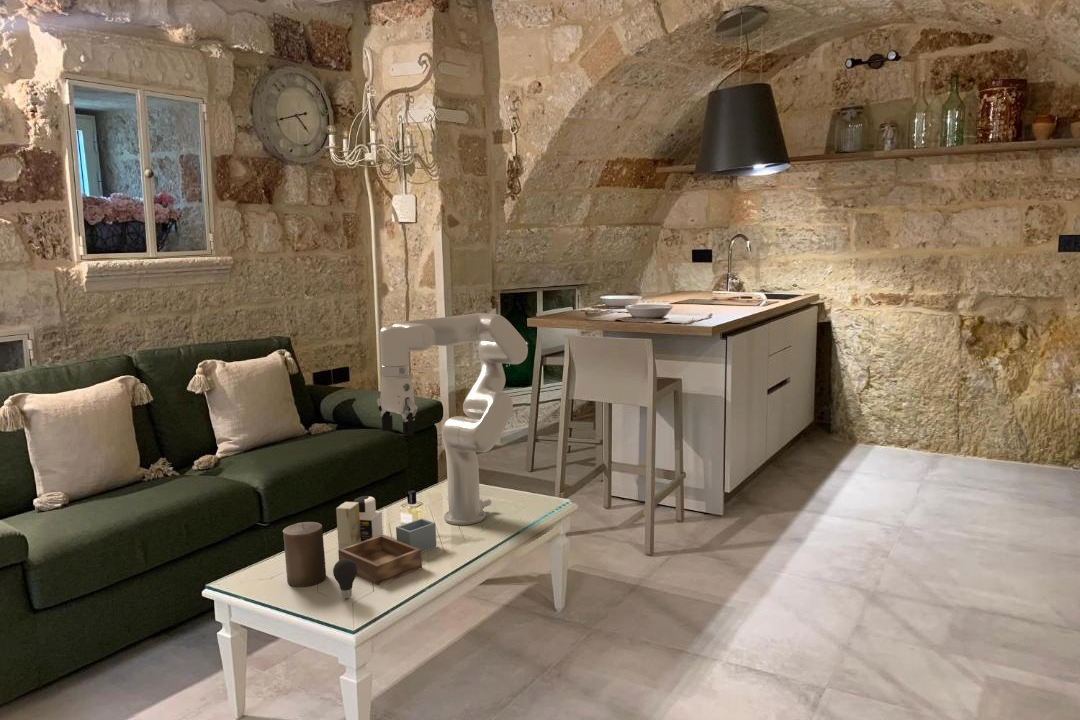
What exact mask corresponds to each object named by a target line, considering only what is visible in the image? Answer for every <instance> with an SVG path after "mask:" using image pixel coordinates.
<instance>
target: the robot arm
mask: <svg viewBox="0 0 1080 720" xmlns="http://www.w3.org/2000/svg"><path fill="white" fill-rule="evenodd" d="M379 332H380V333H379V338H380V339H379V340H380V341H379V342H380V343H379V344H380V362H381V363H380V366H381V367H380V368H381V369H380V370H381V371H380V372H381V379H380V397H379V398H377V399H376V403H377V406H378V410H379V412H380V413H379V416H380V417H381V430H382V431H383V432H386V431H391V430H393V428H394V427H393V415H392V413H393V414H398V415H400V416H401V417H402V419H403V421H402V435H403V437H408V436H409V437H410V436H413V435H414V434H415V432H414V431H415V428H414V421H415V419H416V416H417V412H418V408H419V407H418V406H417V405H416V403H415V395H414V394H415V393H414V386H413V381H412V377H411V376H410V356H409V352H413V351H415V352H416V351H418V352H424V351H427V350H429V349H431V348H432V347H433V346H439V347H441V346H443V347H447V346H449V347H450V346H453V347H454V346H457V345H463V344H469V343H471V344H472V343H477V342H479V344H478V356H479V360H480V373H479V375H478V377H477V379H476V380H475V382H474V384H473V386H472V387H471V388H470V390H469V392H468V394H467V395H466V397H465V398H464V401H463V403H462V409H463V413H464V414H465V415H466V416H461V415H458V416H457V415H455V416H452V417H450V418H448V419H447V420H446V421H445V422H444V423H443V425H442V429H441V437H442V442H443V446H444V450H445V458H446V474H447V477H446V478H447V493H448V496H447V497H448V499H447V500H448V511H447V512H445V514H444V515H443V518H444V519H443V520H444V521H445V522H446V523H448V524H452V525H459V526H460V525H462V526H465V525H473V524H478V523H479V522H482V521H483V520H485V518H486V516H487V515H486V512H485V510H484V508H485V507H488V506H491V505H492V500H491V499H490V498H488V499H485V500H482V499H481V496H480V493H481V492H480V475H479V473H480V470H479V460H478V455H477V453H486V452H489V451H490V450H492V449H493V448H494V446H495V445H496V444H497V442H498V441H499V438H500V436H501V435H502V434H503V432H504V429H505V428H506V426H507V425H508V423H509V421H510V420H511V416H512V413H513V407H514V404H513V400H512V398H511V396H510V395H509V394H508V393H507V392H505V391H503V390H504V387H505V385H506V374H505V370H504V367H503V364H508V365H519V364H521V363H523V362H524V361H525V360H526V359H527V357H528V352H529V347H528V343H527V342H526V340H525V339H524V337H523V336H522V335H521V333H520V332H518V330H517V329H516V328H515V326H513V325H512V323H511V322H510V321H509V320H508V319H507V318H505V317H504V316H502V315H501V314H498V313H481V312H478V313H477V312H476V313H469V314H461V315H453V316H446V317H445V316H443V317H435V318H426V319H425V318H424V319H414V320H406V321H404V320H403V321H399V322H396V323H394V324H393V325H390V326H384V327H382V328H381V329H380V331H379ZM476 452H477V453H476Z"/></svg>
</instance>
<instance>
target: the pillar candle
mask: <svg viewBox="0 0 1080 720" xmlns="http://www.w3.org/2000/svg"><path fill="white" fill-rule="evenodd" d="M282 534H283V542H284V543H283V544H284V557H285V559H284V560H285V569H286V581H287V584H288V585H290V586H291V587H292V586H293V587H311V586H315V585H317V584H319V583H322V582H324V581H326V580H325V579H326V578H327V570H326V567H327V566H326V557H325V546H324V545H325V544H324V533H323V525H322V524H321V523H319V522H315V521H305V522H297V523H294V524H291V525H288V526H286V527H285V528H284V529H283V530H282Z"/></svg>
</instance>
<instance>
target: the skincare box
mask: <svg viewBox="0 0 1080 720" xmlns="http://www.w3.org/2000/svg"><path fill="white" fill-rule="evenodd" d="M335 511H336V526H337V540H338V541H337V542H338V543H337V544H338V546H337V547H338V550H339V549H342V548H345V547H348V546H351V545H354V544H356V543H359V542H361V532H360V515H359V502H354V501H344V502H343V503H341V504H340V505H338V506H337V507H336V508H335Z"/></svg>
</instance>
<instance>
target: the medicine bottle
mask: <svg viewBox="0 0 1080 720" xmlns="http://www.w3.org/2000/svg"><path fill="white" fill-rule="evenodd" d="M353 502H359V515H360V532H361V542H362V541H365V540H368V539H371V538H374V537H377V536H380V535H384V529H383V528H384V527H383V515H382V511H381V510H377V509H376V499H375V497H373V496H369V495H362V496H359V497H357V498H355V499H354V500H353Z"/></svg>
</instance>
